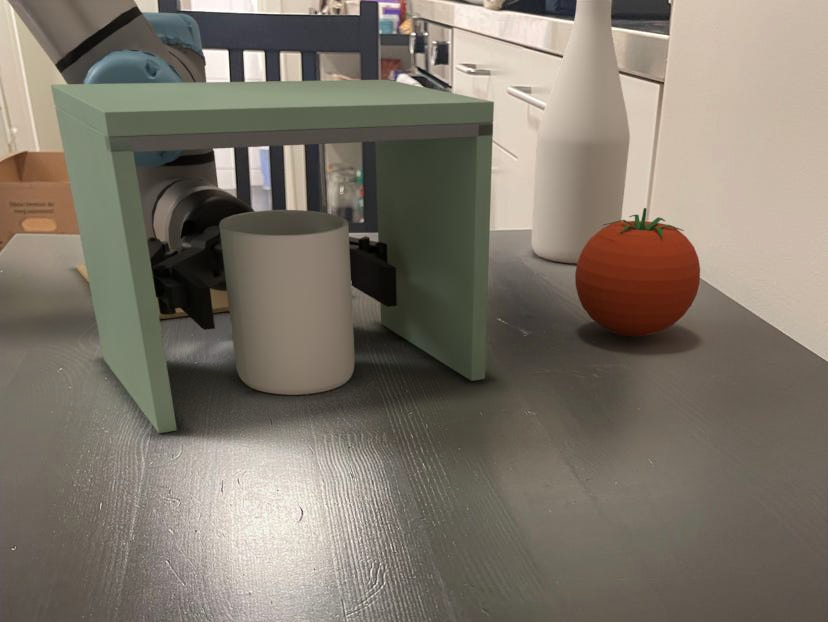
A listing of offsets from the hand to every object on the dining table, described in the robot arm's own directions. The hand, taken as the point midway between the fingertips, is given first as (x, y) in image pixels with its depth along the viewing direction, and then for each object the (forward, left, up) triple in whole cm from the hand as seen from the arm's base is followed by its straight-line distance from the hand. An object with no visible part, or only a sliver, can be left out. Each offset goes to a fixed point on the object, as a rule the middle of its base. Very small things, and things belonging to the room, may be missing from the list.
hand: (303, 297), depth 67 cm
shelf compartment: (-2, +2, -6) cm, 7 cm away
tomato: (+21, +20, -6) cm, 30 cm away
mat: (-20, +22, -6) cm, 31 cm away
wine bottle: (+11, +47, -6) cm, 49 cm away
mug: (-2, +2, -6) cm, 7 cm away
